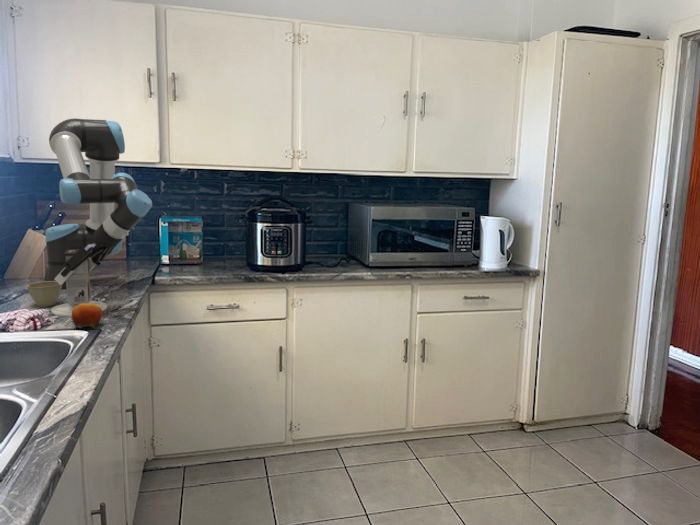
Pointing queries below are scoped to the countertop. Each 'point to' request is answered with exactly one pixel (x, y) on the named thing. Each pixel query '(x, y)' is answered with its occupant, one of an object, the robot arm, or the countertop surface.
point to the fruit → (86, 315)
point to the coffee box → (78, 281)
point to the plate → (67, 308)
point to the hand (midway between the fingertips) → (69, 278)
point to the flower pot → (45, 292)
